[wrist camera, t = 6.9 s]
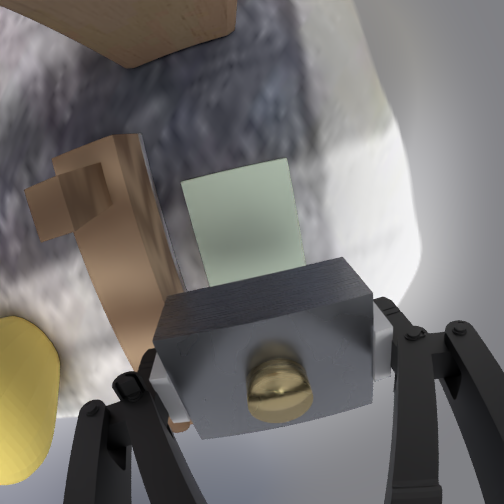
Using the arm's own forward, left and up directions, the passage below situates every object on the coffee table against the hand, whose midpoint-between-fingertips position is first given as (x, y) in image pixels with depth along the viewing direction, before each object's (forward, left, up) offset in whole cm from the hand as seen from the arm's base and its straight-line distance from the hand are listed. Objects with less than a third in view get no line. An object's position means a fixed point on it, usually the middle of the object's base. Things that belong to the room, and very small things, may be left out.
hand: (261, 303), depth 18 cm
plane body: (+2, -10, -12) cm, 15 cm away
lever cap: (0, 0, +3) cm, 3 cm away
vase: (+8, -31, -12) cm, 34 cm away
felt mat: (0, 0, -12) cm, 12 cm away
